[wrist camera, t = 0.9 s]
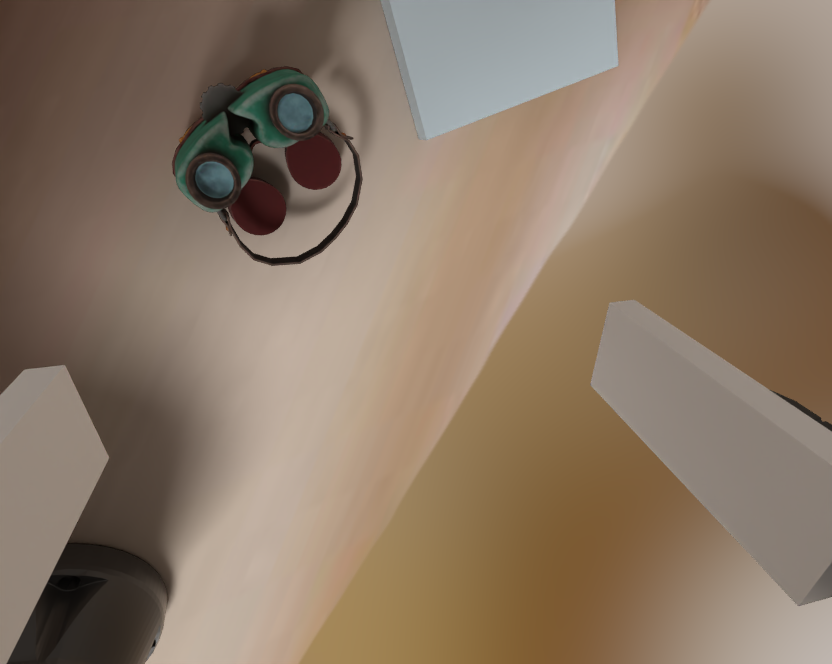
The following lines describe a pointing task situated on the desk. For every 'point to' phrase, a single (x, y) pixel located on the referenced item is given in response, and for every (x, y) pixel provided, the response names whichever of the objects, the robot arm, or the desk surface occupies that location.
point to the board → (494, 53)
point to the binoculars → (233, 160)
